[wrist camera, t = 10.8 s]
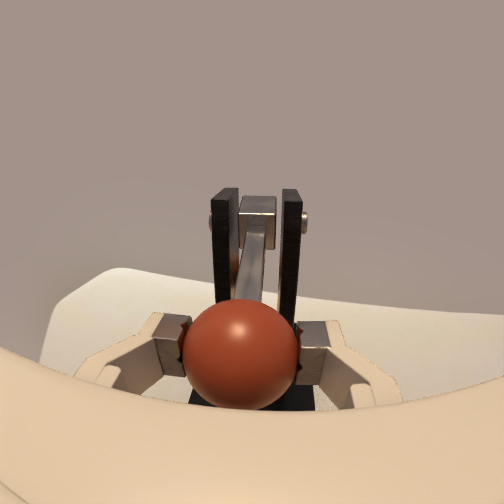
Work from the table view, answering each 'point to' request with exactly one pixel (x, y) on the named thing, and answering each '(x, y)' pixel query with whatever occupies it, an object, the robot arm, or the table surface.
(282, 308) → the bracket
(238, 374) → the faucet lever
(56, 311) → the table surface
